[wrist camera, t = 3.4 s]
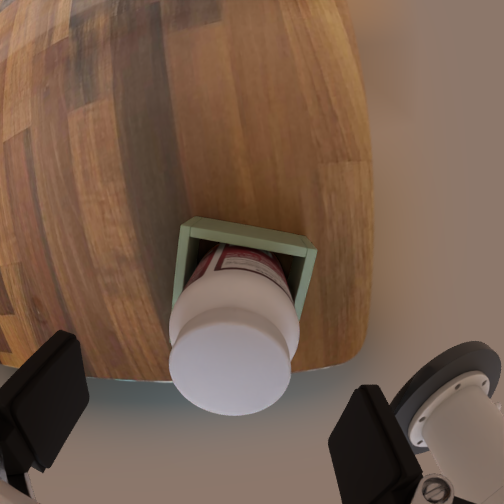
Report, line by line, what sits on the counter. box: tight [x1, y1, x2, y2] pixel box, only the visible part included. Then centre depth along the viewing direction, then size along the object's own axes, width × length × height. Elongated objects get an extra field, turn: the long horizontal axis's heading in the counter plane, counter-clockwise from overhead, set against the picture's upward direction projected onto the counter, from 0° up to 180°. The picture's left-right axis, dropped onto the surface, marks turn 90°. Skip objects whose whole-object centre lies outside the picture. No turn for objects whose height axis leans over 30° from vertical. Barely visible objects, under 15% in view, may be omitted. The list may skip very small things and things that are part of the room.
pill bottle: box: [169, 242, 300, 416], centre depth 15 cm, size 6×6×11 cm
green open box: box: [170, 216, 317, 343], centre depth 19 cm, size 8×8×4 cm
